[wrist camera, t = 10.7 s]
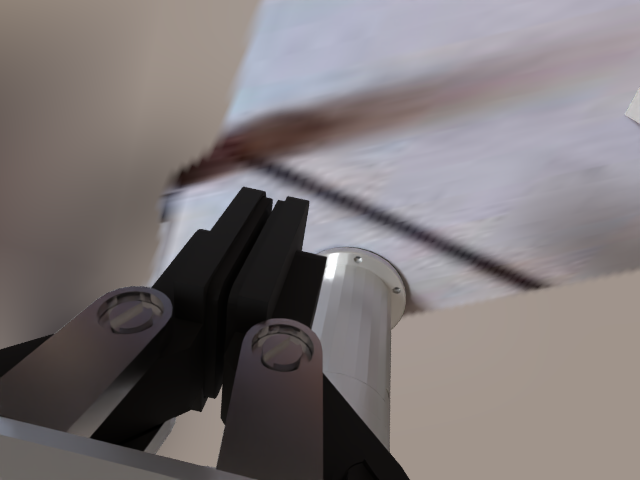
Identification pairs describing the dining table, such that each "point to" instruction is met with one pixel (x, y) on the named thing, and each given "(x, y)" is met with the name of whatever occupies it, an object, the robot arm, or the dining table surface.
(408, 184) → the dining table surface
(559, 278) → the dining table surface
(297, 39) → the dining table surface
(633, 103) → the control box
